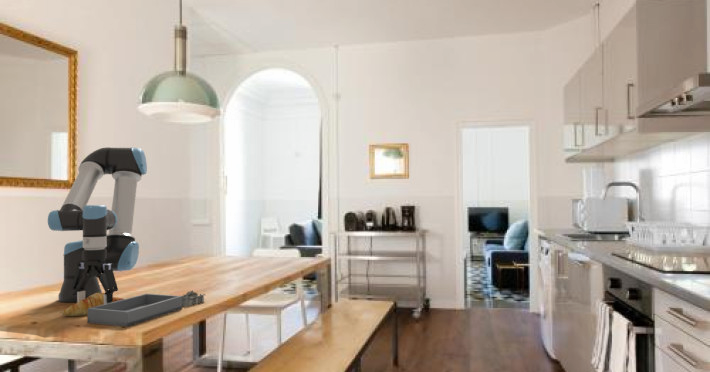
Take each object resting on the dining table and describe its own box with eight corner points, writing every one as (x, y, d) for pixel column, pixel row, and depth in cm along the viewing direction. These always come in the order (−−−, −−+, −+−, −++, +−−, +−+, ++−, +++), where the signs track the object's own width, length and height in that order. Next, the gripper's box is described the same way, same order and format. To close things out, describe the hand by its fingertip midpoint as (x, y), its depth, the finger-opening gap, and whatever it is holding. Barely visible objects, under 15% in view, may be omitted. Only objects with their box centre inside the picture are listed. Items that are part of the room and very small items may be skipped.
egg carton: (193, 300, 193) (193, 289, 193) (207, 302, 189) (207, 291, 189) (171, 305, 183) (172, 294, 183) (186, 307, 180) (186, 296, 180)
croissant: (66, 329, 162) (72, 309, 160) (53, 312, 167) (58, 292, 165) (127, 315, 180) (133, 297, 178) (114, 300, 185) (119, 282, 183)
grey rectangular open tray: (87, 322, 157) (87, 308, 157) (146, 305, 182) (146, 293, 182) (127, 326, 152) (127, 312, 152) (182, 308, 177) (182, 296, 177)
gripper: (60, 248, 174) (59, 311, 173) (112, 250, 166) (112, 315, 166) (78, 246, 181) (77, 306, 180) (129, 248, 173) (129, 310, 173)
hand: (94, 311), depth 173 cm, fingers open, 11 cm apart
